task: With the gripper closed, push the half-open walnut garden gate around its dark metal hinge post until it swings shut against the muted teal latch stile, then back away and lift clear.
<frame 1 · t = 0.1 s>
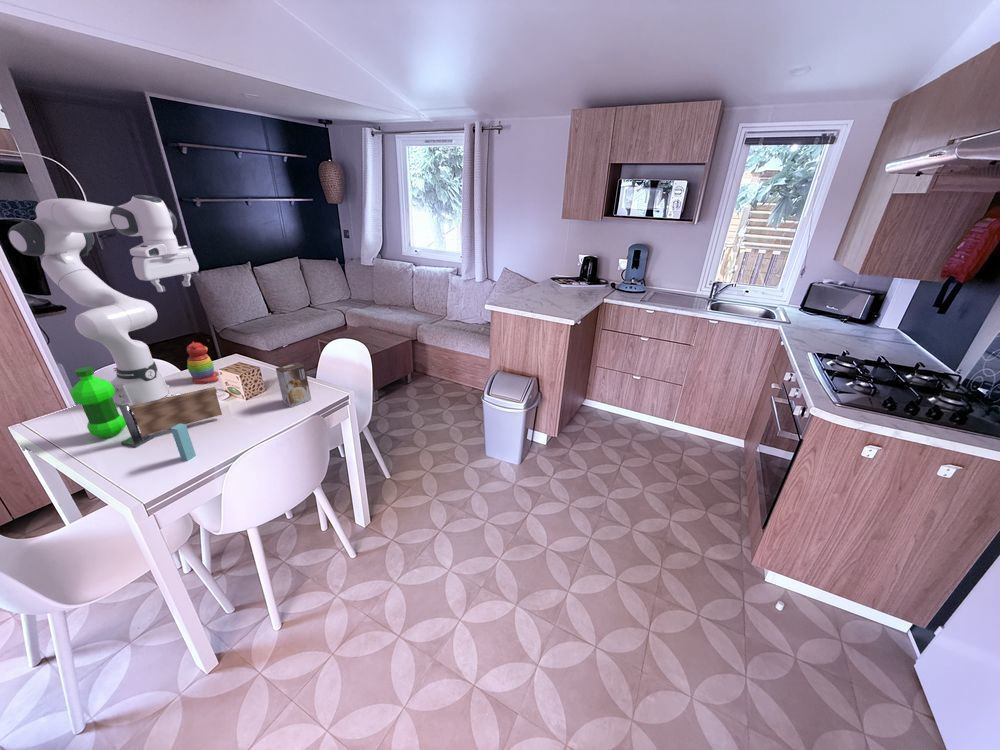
hand: (174, 288, 140), 48 cm above the table, tool pointing down, fingers open, 8 cm apart
plastic bottle: (111, 434, 141), on the table
stacking bear: (205, 380, 182), on the table
coffee box: (297, 402, 168), on the table
hinge post: (138, 441, 137), on the table
gate: (179, 410, 143), point 7 cm above the table, hinge at 55.0°
latch stile: (188, 457, 131), on the table
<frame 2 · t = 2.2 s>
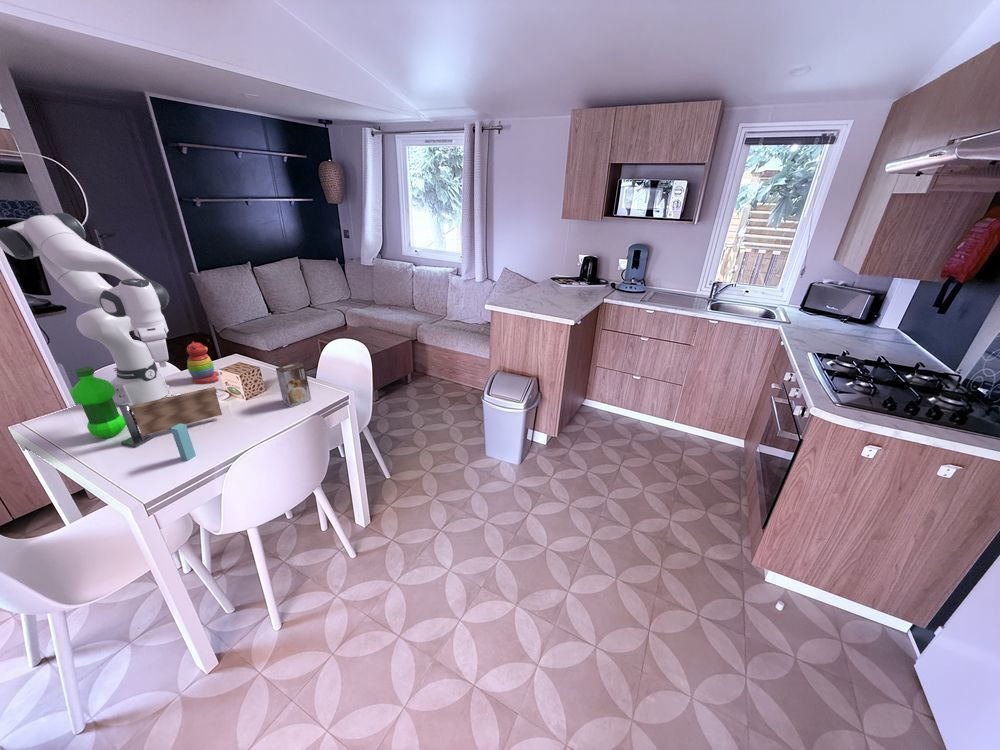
hand: (163, 365, 140), 23 cm above the table, tool pointing down, fingers closed
nothing on the table moved.
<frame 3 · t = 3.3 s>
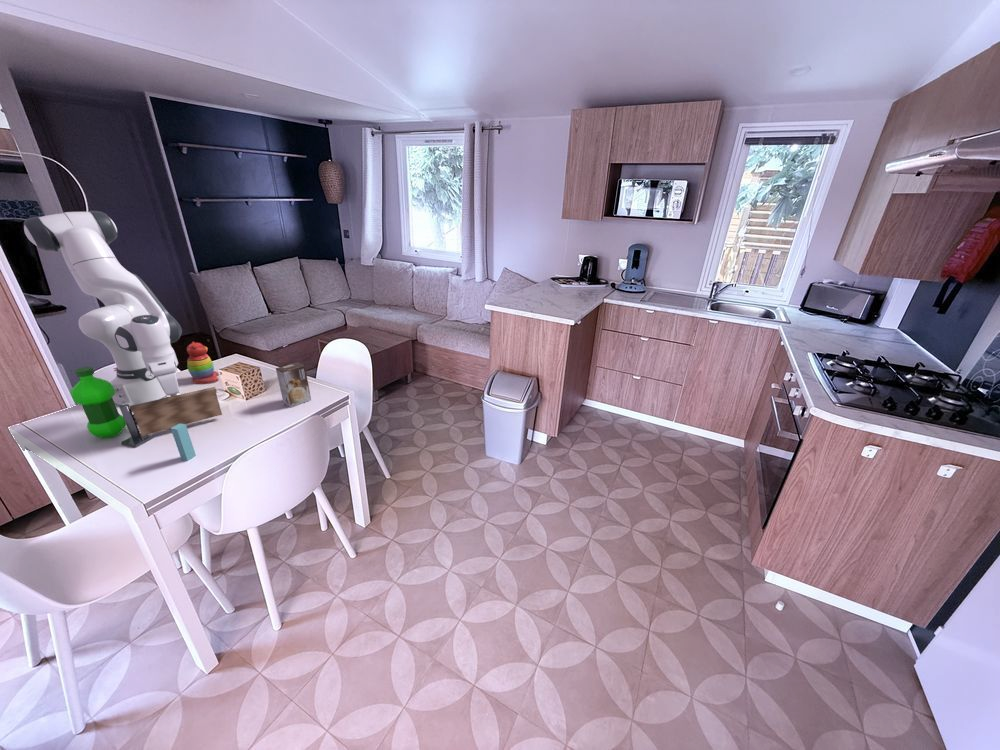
hand: (174, 396, 145), 11 cm above the table, tool pointing down, fingers closed
nothing on the table moved.
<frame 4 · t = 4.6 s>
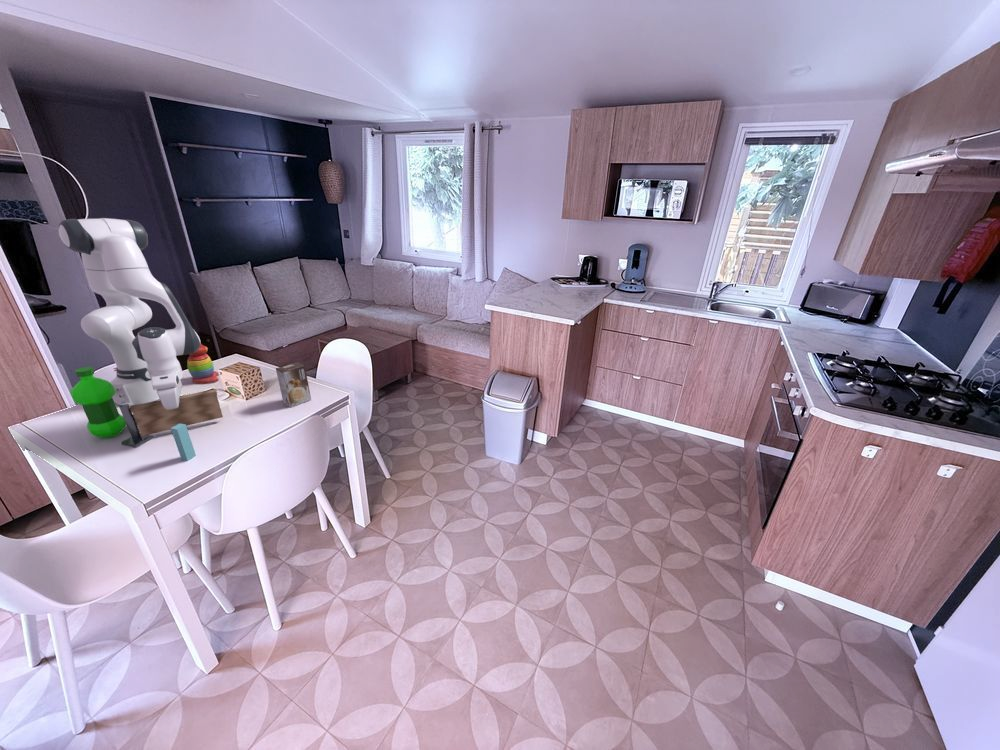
hand: (178, 408, 144), 7 cm above the table, tool pointing down, fingers closed
gate: (179, 412, 142), point 7 cm above the table, hinge at 49.6°, touching gripper
everything else where it was.
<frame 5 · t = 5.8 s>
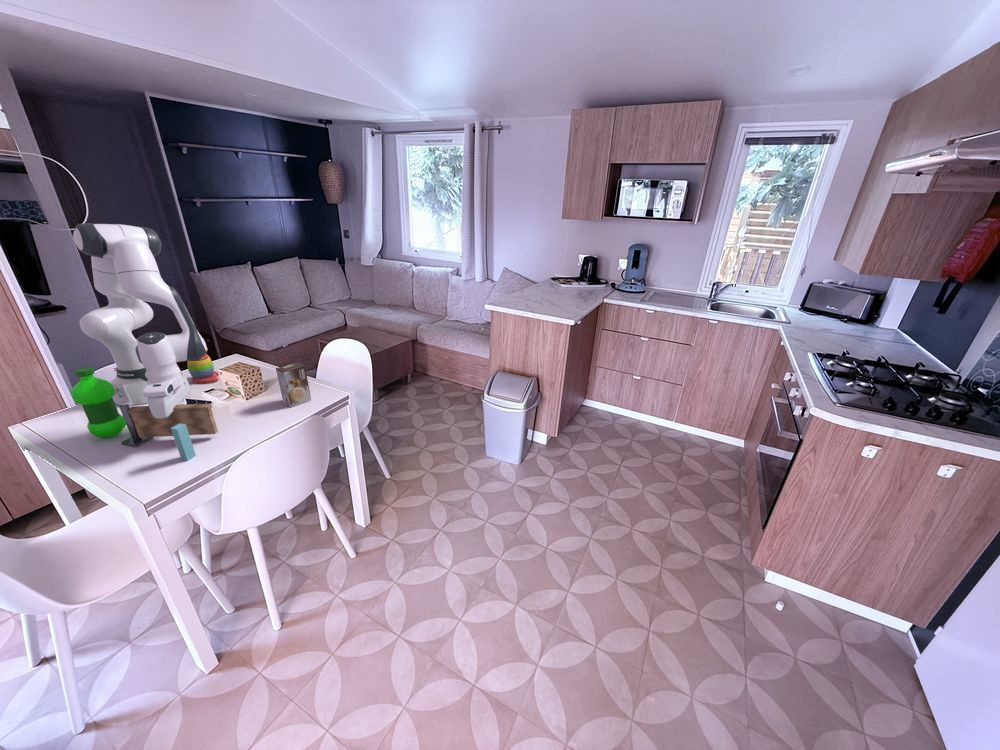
hand: (178, 416, 140), 7 cm above the table, tool pointing down, fingers closed
gate: (174, 420, 137), point 8 cm above the table, hinge at 22.0°, touching gripper
everything else where it was.
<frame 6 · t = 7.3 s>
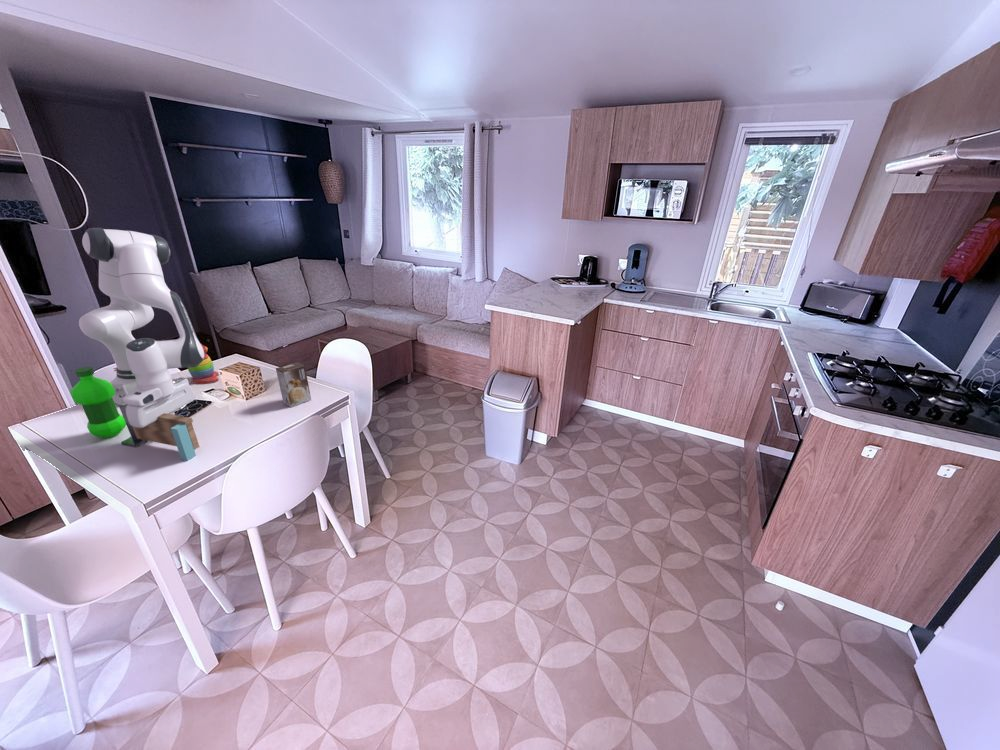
hand: (170, 424, 135), 7 cm above the table, tool pointing down, fingers closed
gate: (163, 428, 132), point 7 cm above the table, hinge at -0.2°, touching gripper, latch stile
everything else where it was.
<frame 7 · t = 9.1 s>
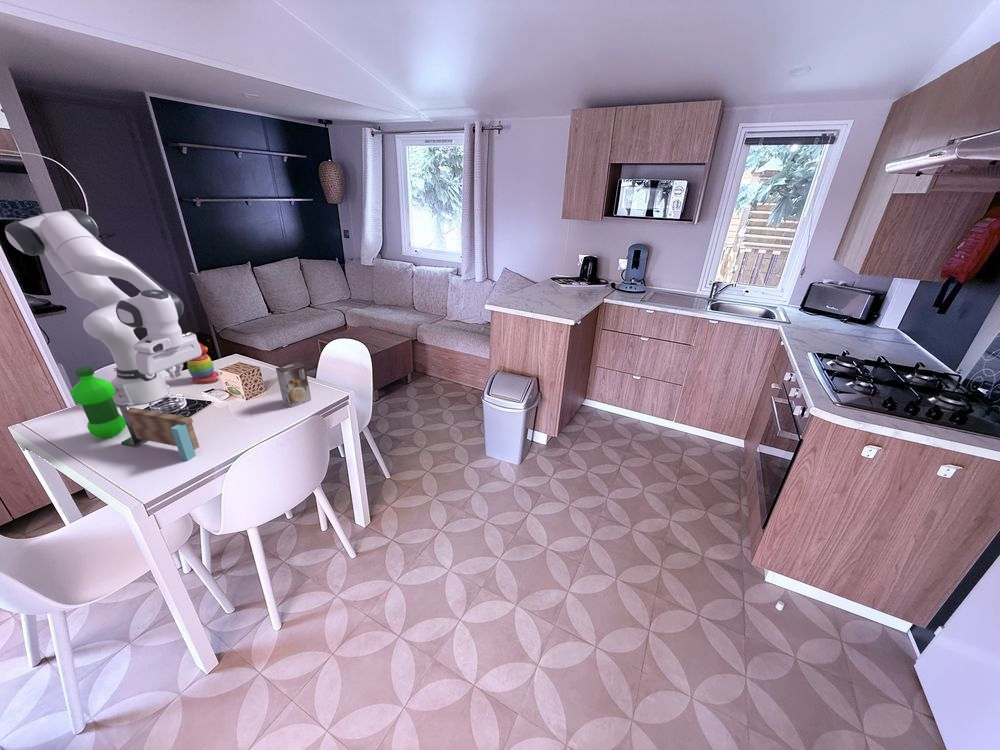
hand: (176, 376, 139), 20 cm above the table, tool pointing down, fingers closed
gate: (163, 428, 132), point 8 cm above the table, hinge at -0.2°, touching latch stile
everything else where it was.
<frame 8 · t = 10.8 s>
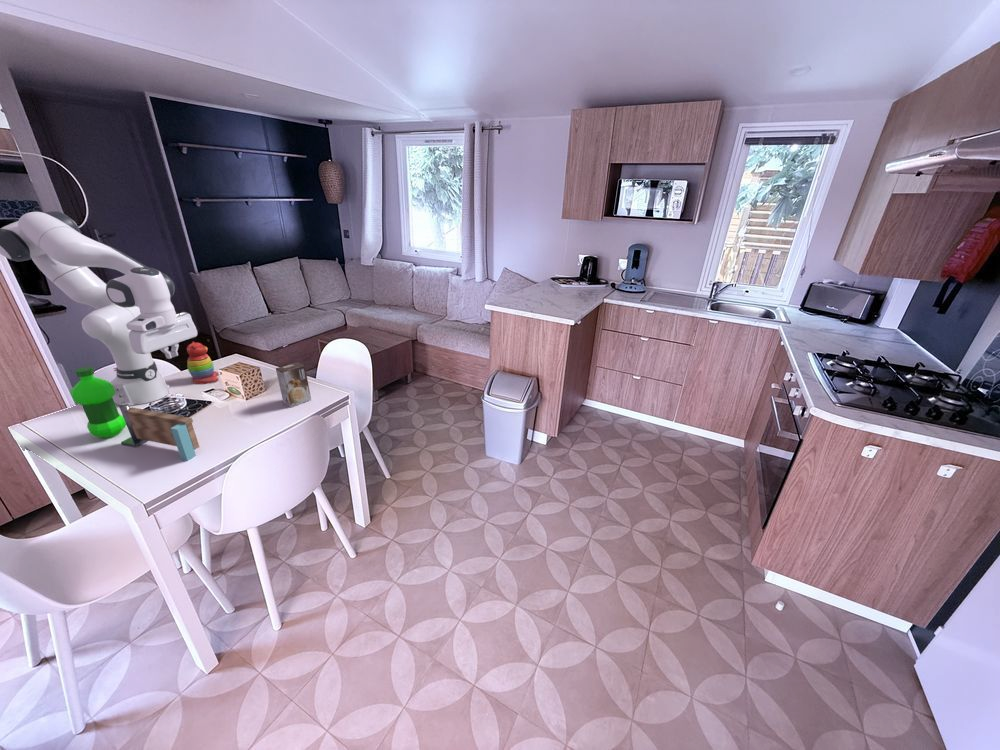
hand: (172, 357, 137), 27 cm above the table, tool pointing down, fingers closed
nothing on the table moved.
at the end: gate at +0° (first picture: +55°); the gripper is holding nothing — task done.
